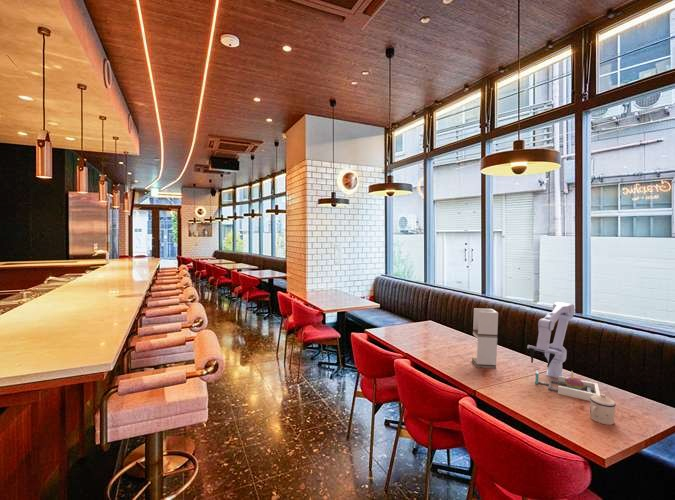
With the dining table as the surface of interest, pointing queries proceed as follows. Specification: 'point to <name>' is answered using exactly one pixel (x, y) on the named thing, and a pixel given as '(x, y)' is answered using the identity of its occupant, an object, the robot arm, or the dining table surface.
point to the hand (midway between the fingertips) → (539, 364)
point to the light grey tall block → (485, 337)
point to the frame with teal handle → (556, 383)
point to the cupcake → (574, 383)
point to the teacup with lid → (602, 409)
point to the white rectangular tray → (578, 393)
